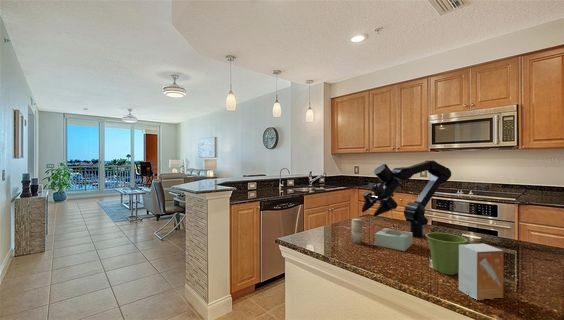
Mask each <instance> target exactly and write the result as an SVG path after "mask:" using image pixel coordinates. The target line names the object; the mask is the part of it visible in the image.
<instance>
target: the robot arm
mask: <svg viewBox="0 0 564 320" xmlns="http://www.w3.org/2000/svg"><path fill="white" fill-rule="evenodd" d="M425 171H427V172H428V173H429V181H428V182H427V183H426V185H425V187H424V188H423V189H422V191H421V192H420V193H419V195H418V197H417V198H416V199H415V201H414V202H411V201H409V202H407V204H406V206H404V210H403V216H404V218H405V221H406V222H408V223H409V232H412V233H413V237H415V238H424V237H426V233H424V226H427V225H428V223H429V219H428V218H427V217H426V215H425V214H426V206H427V205H428V203H430V202H429V201H430V200H432V198H433V196H434V194H435V193H436V192H437V190H438V189H439V187H440V186H441V185H443V184H445V183H447V181H448V180H450V178H451V177H452V171H451V170H450V168H449V167H446V166H444V165H442V164H440V163H438V162H437V161H435V160H425V161H423V162H420V163H416V164H412V165H410V166H405V167H404V166H403V167H395V168H393V169H392V170H391V169H390V168H389V166H388V165H387V164H386V163H382V164H381V165H379V166H378V167H376V168H375V169H374V171H373V173H374V175H375V176H376V177H377V178H378V180H379V181H380V183H374V182H373V183H371V182H369V183H368V185H367V187H366V190H368V191H370V192H368V191H365V192H364V193H363V194H362V197H363V199H364V202H363V205H362V209H361V212H362V213H364V212H366V211H368V210H369V209H371V208H372V207H373V206H375V204H376V203H379V206H378V207H377V208H376V209H375V212H374V213H373V216H374V217H377V216H379V215H383V214H384V213H386V212H389V211H393V210H394V211H395V210H396V209H397V207H398V203H397V202H396V201H395V199H394V198H393V197H394V196H395V194H394V193H395V191H396V190H397V189H404V185H403V182H400V181H408V180H409V179H411V178H412V177H413V176H415V175H417V174H419V173H420V174H421V173H424V172H425Z"/></svg>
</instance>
